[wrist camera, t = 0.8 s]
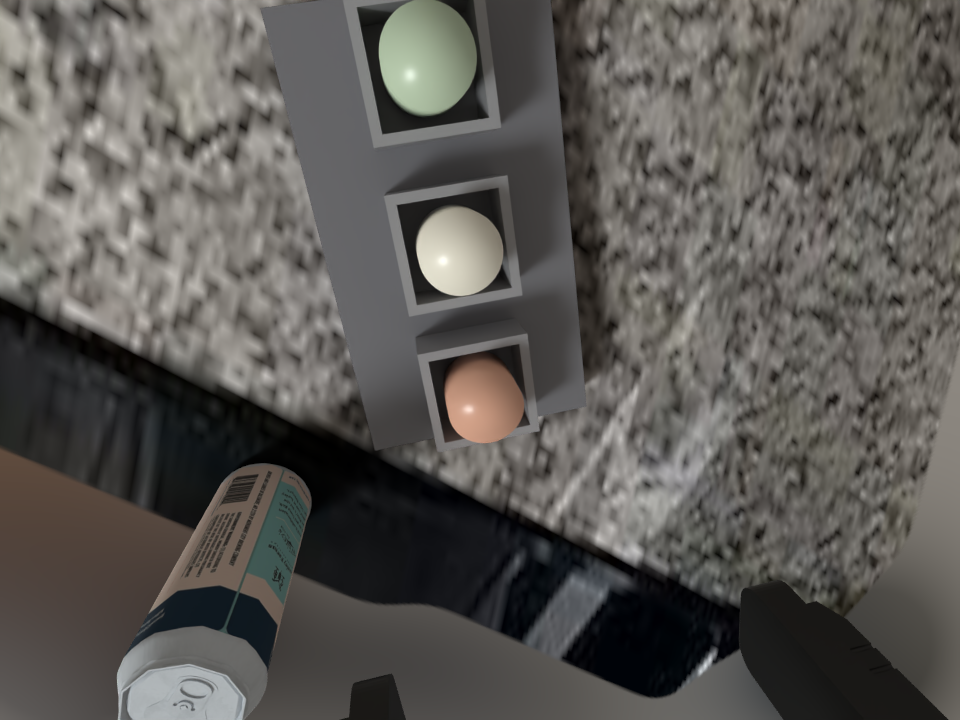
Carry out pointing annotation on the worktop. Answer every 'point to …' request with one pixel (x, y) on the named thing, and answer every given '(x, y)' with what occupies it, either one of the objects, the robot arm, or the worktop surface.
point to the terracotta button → (482, 397)
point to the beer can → (220, 605)
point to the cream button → (458, 250)
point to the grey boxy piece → (429, 185)
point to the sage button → (426, 57)
